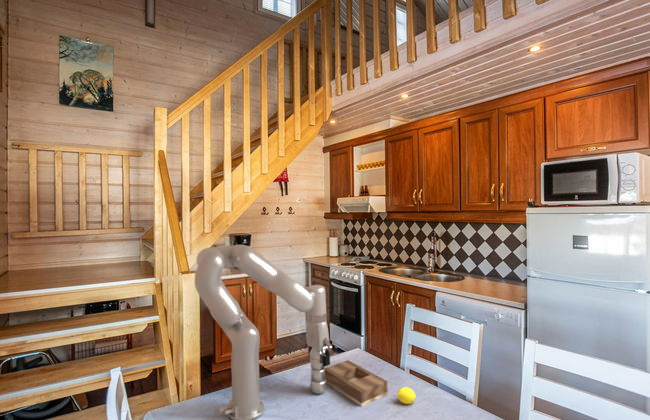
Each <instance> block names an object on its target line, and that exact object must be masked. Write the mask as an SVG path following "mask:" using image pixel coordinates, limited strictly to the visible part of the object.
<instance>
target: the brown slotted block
mask: <svg viewBox="0 0 650 420" xmlns="http://www.w3.org/2000/svg"><path fill="white" fill-rule="evenodd" d="M325 379H326V383H327V385H329V386H330V387H332V388H334V390H336V391H338V392H340V393H341V394H343V395H344V396H345V397H347V398H348V399H350V401H351V400H352V401H353V402H354V403H356V404H357V405H358V406H360V407H363V406H366V405H368V404H370V403H372V402H376V401H377V400H380V399H382V398H384V397H387V396H388V395H389V393H388V391H389V389H388V380H386V379H384V378H382V377H381V376H379V375H376V374H374V373H373V372H370V371H369V370H367V369H366V368H363V367H362V366H360V365H358V364H357V363H355V362H353V361H350V360H348V359H347V360H345V361H342V362H339V363H335V364H333V365H328V366H325Z"/></svg>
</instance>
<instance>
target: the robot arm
mask: <svg viewBox="0 0 650 420" xmlns="http://www.w3.org/2000/svg"><path fill="white" fill-rule="evenodd" d="M196 265H197V267H196V271H195V273H194V287H195V290H196V292H197V294H198V296H199V298H200V299H201V300H202V302H204V305H205V306H206V307H207V308H208V310H209V312H210V314H211V316H212V318H213V319H214V320H215V322H216V323H217V324H218V326H219V327H220V329H221V330H222V331H223V332H224V334H225V336H226V337H227V338H228V340H229V341H230V343H231V356H230V357H231V359H230V362H231V363H230V364H231V365H230V366H231V367H230V369H231V394H232V395H231V396H232V397H231V399H230V400H229V403H227V405H224V406H221V407H218V414H219V415H221V414H224V415H225V416H228V418H229V417H230V418H231V419H230V418H229V419H230V420H232V419H233V420H252V419H253V420H256V419H257V418H259V417H261V416H262V415H263V414H264V412H265V404H264V402H262V401H261V392H260V391H261V390H260V359H259V355H260V344H261V342H260V341H261V338H260V332H259V329H258V328H257V327H256V325H255V324H254V323H253V322H252V321H251V320H250V319H249V317H247V315H246V314H245V313H244V311H243V310H242V308H241V306H240V303H239V302H238V301H237V300H236V298H234V297H233V296H232V294H231V293H230V291H229V290H228V288H227V287H226V285H225V284H224V282H223V281H222V274H223V271H224V270H226V269H233V268H237V269H239V270H240V271H241V272H242V273H244V274H245V275H247V276H248V277H250V279H252V280H253V281H255V282H256V283H257V284H259V285H260V286H261V287H263V288H264V289H266V290H267V291H269V292H271V293H273V294H275V295H276V296H278V298H281V299H282V300H283V301H285V302H286V303H287V305H289V306H290V307H292V308H294V309H295V310H296V311H298V312H301V313H306V317H307V318H306V319H307V320H306V326H305V327H306V328H305V329H306V330H305V333H306V334H304V336H305V341H306V342H305V343H306V345H307V351H308V358H309V359H310V355H309V354H310V351H311V349H312V348H314V349H316V350H318V351H320V350H321V352H322V354H323V356H322V366H323V367H325V368H326V367H329V366H331V357H330V356H331V355H332V350H333V345H332V344H331V343H330V338H329V337H330V335H329V328H328V322H327V321H328V319H327V317H328V316H327V302H326V301H327V300H326V299H327V296H326V289H325V288H326V287H325V286H323V285H321V284H313V285H312V284H311V285H310V286H302V285H300V284H299V283H298V282H297V281H295V280H294V279H292V278H291V277H290V276H288V275H287V274H286V273H284V271H282V270H281V269H280V268H279V267H277V266H276V265H274V264H273V263H272V262H270V260H269V259H267V258H265V257H264V256H263V255H262V254H260V253H259V252H258V251H256V249H254V248H252V246H248V245H245V244H235V245H222V246H213V247H206V248H204V249H202V250H200V251H199V253H198V254H197V256H196ZM324 350H325V352H324ZM255 418H256V419H255Z"/></svg>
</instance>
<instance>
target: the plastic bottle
mask: <svg viewBox="0 0 650 420" xmlns="http://www.w3.org/2000/svg"><path fill="white" fill-rule="evenodd" d="M324 352H326V349H324ZM309 355H310V358H309V361H310V370H311V375H310V377H311V378H310V381H309V382H310V384H309V385H310V387H309V388H310V391H311V392H312V393H314V394H317V395H318V394H319V395H320V394H323V393H325V392H326V390H327V385H328V384H327V383H326V379H325V368H326V366H325V367H323V366H322V356H323V354H322V352H321V350H320V351H318V350H316V349H314V348H312V349H311V351H310V354H309V353H308V356H309Z"/></svg>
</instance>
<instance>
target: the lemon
mask: <svg viewBox="0 0 650 420" xmlns="http://www.w3.org/2000/svg"><path fill="white" fill-rule="evenodd" d="M396 396H397V398H398V400H399V401H400V402H401V403H402V404H405V405H410V404H412V403H414V401H415V400H416V397H417V396H416V393H415V392H414V390H413V389H412V388H410V387H408V386H407V387H405V386H404V387H402V388H400V389H399V390H398V392H397V393H396Z"/></svg>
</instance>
